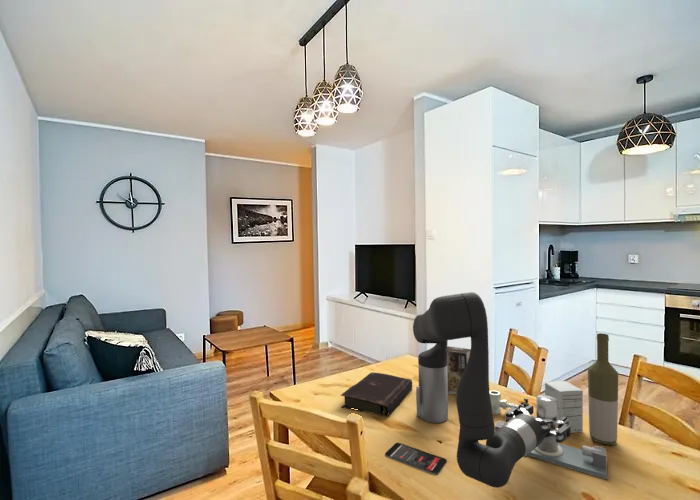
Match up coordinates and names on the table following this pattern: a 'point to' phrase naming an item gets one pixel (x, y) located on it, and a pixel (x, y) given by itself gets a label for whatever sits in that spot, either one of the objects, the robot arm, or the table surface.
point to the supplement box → (567, 402)
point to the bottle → (603, 395)
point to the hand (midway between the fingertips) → (548, 414)
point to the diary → (377, 393)
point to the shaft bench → (574, 457)
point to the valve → (503, 403)
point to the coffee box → (456, 366)
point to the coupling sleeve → (548, 410)
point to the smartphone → (416, 458)
